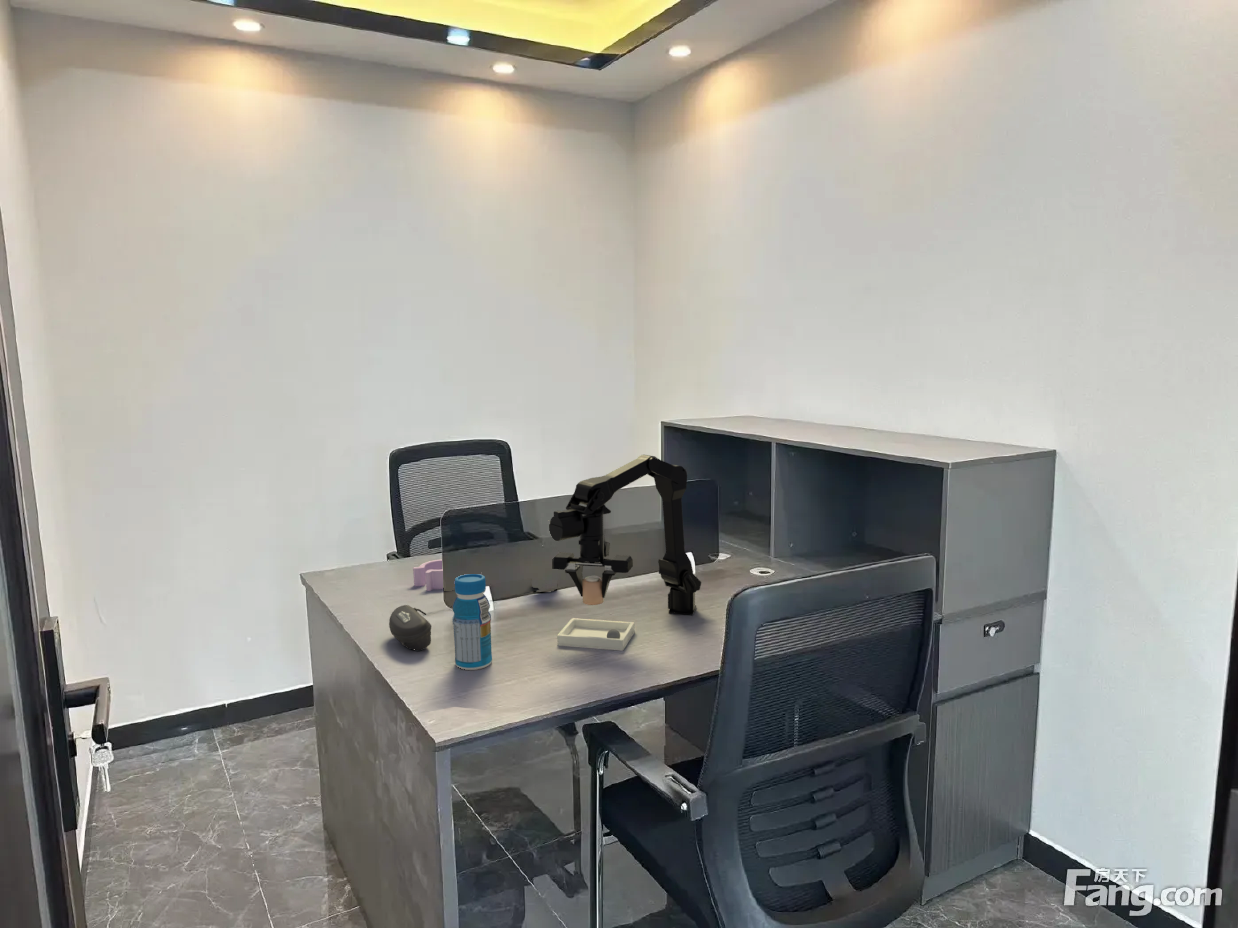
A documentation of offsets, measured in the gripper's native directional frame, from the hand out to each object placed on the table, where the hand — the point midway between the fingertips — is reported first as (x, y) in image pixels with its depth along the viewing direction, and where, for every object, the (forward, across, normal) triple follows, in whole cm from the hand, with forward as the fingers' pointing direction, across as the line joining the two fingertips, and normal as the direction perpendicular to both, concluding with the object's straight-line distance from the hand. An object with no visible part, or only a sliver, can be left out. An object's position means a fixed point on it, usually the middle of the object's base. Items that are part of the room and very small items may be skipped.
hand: (593, 596), depth 189 cm
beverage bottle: (+10, +22, +21) cm, 32 cm away
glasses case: (+10, +41, +12) cm, 44 cm away
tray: (+10, -1, +1) cm, 10 cm away
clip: (+10, +54, -32) cm, 63 cm away
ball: (+10, -6, +4) cm, 12 cm away
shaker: (+1, 0, 0) cm, 1 cm away
